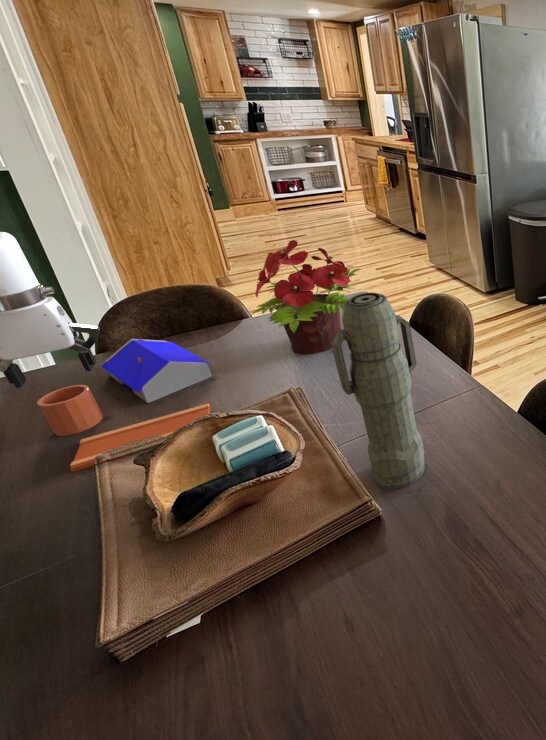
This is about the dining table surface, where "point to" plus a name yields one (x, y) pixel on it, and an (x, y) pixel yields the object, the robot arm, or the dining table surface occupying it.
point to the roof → (155, 368)
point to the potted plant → (306, 299)
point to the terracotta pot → (70, 410)
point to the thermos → (382, 386)
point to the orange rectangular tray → (133, 435)
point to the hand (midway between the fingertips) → (57, 376)
